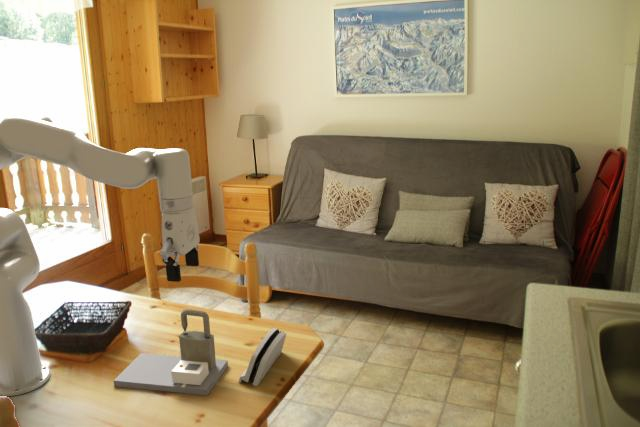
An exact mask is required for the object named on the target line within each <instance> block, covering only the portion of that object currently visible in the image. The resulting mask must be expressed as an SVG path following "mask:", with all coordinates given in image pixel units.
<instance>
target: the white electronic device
mask: <svg viewBox="0 0 640 427" xmlns="http://www.w3.org/2000/svg"><path fill="white" fill-rule="evenodd" d="M171 373H172V382H173V383H182V384H192V385H201V384H202V382H203V381H204V380H205V378H206V377H207V375H208V374H209V370H208V363H207V362H195V361H183V360H181V361H180V362H179V363H178V364H177V365H176V366H175V368H174V369H173V370H172V371H171Z"/></svg>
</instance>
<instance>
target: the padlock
mask: <svg viewBox="0 0 640 427" xmlns="http://www.w3.org/2000/svg"><path fill="white" fill-rule="evenodd" d="M188 316H193V317H199V318H200V317H201V318H202V321H203V322H202V323H203V324H202V325H203V331H197V330H187V329H188V325H189V324H188ZM180 321H181V322H180V323H181V327H182V329H183V332H182V333H181V334H179V335H178V339H179V348H180V351H179V352H180V356H181V360H183V361H195V362H207V363H208V370H212V369H213V368H214V366H215V365H216V359H217V358H216V349H215V348H216V347H215V336H214V334H211V326H210V316H209V314H208V313H207V312H206V311H204V310H199V309H187V308H186V309H183V311H181V313H180Z"/></svg>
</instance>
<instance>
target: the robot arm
mask: <svg viewBox="0 0 640 427" xmlns="http://www.w3.org/2000/svg"><path fill="white" fill-rule="evenodd" d="M28 157H29V158H31V159H35V160H40V161H44V162H48V163H51V164H55V165H59V166H63V167H66V168H69V169H71V170H72V171H74V172H75V173H77V174H80V175H81V176H83V177H84V178H87V179H89V180H92V181H95V182H98V183H101V184H105V185H109V186H111V187H117V188H120V189H127V190H134V189H138V188H139V189H140V188H141V187H142V186H143V185H145V184H146V183H147V182H149V181H151V180H155V179H156V182H157V192H158V202H159V209H160V212H161V240H162V248H161V250H160V251H159V252H160V253H159V254H160V256H161V258H162V259H161V260H162V262H163V264H164V267H165V271H166V280H167V281H168V282H172V283H174V282H176V283H179V282H181V281H182V276H181V265H180V264H179V259H180V256H185V257H184V259H185V266H187V267H199V265H200V262H199V251H198V250H199V244H200V240H201V239H200V231H199V224H198V218H197V214H196V212H197V211H196V208H195V204H194V202H195V201H194V193H193V181H192V170H191V169H192V168H191V160H190V153H189V152H188V150H186V149H184V148H176V147H175V148H174V147H173V148H171V147H170V148H165V149H164V148H163V149H156V148H148V147H138V148H135V149H134V148H133V149H132V150H130V151H128V152H126V153H124V152H120V151H115V150H112V149H108V148H105V147H103V146H100V145H97V144H95V143H93V142H91V140H89V139H88V138H87V137H86V135H85V134H84V132H82V131H81V130H79V129H75V128H71V127H68V126H64V125H61V124H58V123H54V122H53V121H52V120H51V118H50V117H48V116H47V115H45V114H43V113H40V112H38V111H28V112H22V113H15V114H11V115H9V116H7V117H6V118H4V119H3V120H1V122H0V171H1V170H4V169H6V168H8V167H10V166H12V165H14V164H16V163H18V162H20V161H22V160H23V159H25V158H28ZM172 257H174V258H172ZM40 269H41V265H40V259H39V257H38V254H37V250H36V249H35V246H34V243H33V241H32V239H31V236H30V233H29V230H28V228H27V226H26V224H25V222H24V220H23V219H22V217H21V216H20V215H19V214H18V213H17V212H16V211H14V210H12V209H10V208H5V207H0V396H1V397H2V396H3V397H12V396H19V395H24V394H26V393H29V392H31V391H34V390H36V389H39V388H40V387H41V386H43V385H44V384H45V383H46V382H47V381H48V380H49V379H50V377H51V370H50V367H48V366H46V365H43V364H42V361H41V356H40V351H39V346H38V341H37V334H36V330H35V325H34V320H33V315H32V312H31V308H30V305H29V304H28V301H27V300H26V299H25V297H24V294H23V291H24V290H25V289H26V288H27V287H28V286H29V285H30V284H31V283H32V282H34V281H35V280H36V278H37V277H38V276H39V273H40Z"/></svg>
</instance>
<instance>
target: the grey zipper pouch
mask: <svg viewBox="0 0 640 427" xmlns="http://www.w3.org/2000/svg"><path fill="white" fill-rule="evenodd" d="M286 337H287V332H285V331H284V330H282V331H281V330H279V328H276V327H273V328H271V329H270V330H268V332H267V333H266V334H265V336H264V337H263V338H262V339H261V341H260V342H259V344H258V345H257V347H256V348H255V350H254V351H253V352H252V355H251V357H250V361H249V362H248V366H247V367H246V369H245V370H244V371H243V373H242V374H241V375H240V377H239V379H238V384H241V383H242V382H243V381H244V382H246V383H248V382H249V383H252V386H254V387H259V385H260V383H261V382H262V380H263V379H264V377H265V376H266V374H267V373H268V372H269V370H270V368H271V367H272V366H273V364H274V363H275V362H276V360H277V359H278V358H279V356H280V354H281V353H282V351H283V347H284V344H285V340H286Z"/></svg>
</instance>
